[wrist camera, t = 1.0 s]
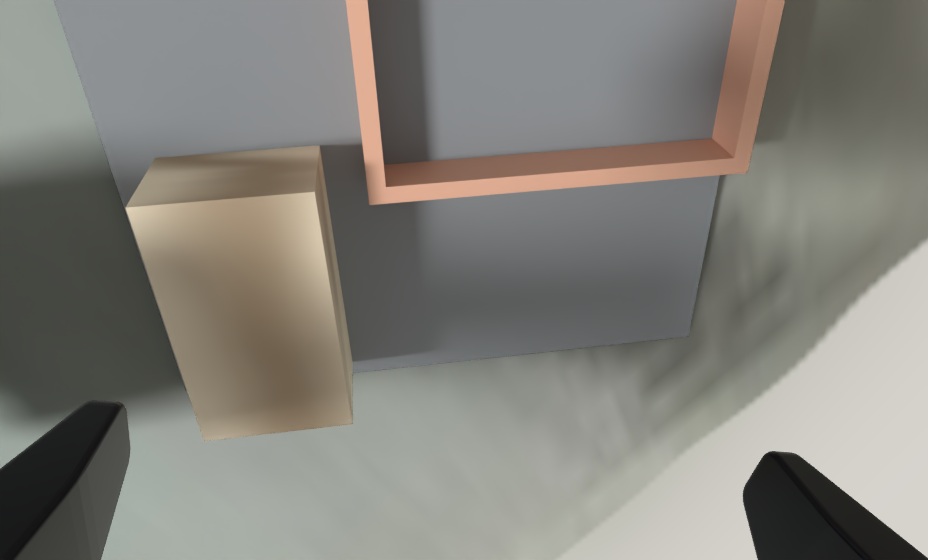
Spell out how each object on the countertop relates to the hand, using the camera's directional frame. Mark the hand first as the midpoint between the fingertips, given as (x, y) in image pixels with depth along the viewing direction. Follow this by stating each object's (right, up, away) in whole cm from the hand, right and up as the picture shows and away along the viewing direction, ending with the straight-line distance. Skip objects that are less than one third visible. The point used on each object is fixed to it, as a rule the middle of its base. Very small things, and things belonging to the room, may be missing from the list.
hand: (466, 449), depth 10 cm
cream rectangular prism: (-6, +3, +12) cm, 14 cm away
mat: (-1, +6, +11) cm, 13 cm away
